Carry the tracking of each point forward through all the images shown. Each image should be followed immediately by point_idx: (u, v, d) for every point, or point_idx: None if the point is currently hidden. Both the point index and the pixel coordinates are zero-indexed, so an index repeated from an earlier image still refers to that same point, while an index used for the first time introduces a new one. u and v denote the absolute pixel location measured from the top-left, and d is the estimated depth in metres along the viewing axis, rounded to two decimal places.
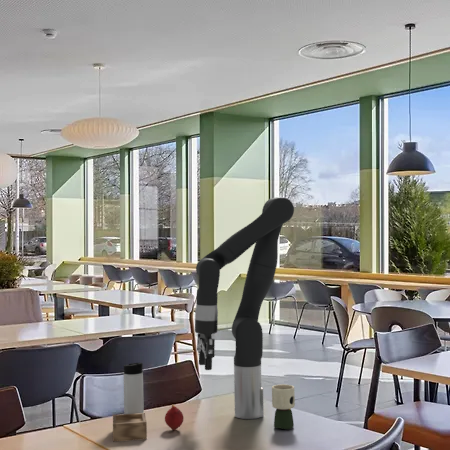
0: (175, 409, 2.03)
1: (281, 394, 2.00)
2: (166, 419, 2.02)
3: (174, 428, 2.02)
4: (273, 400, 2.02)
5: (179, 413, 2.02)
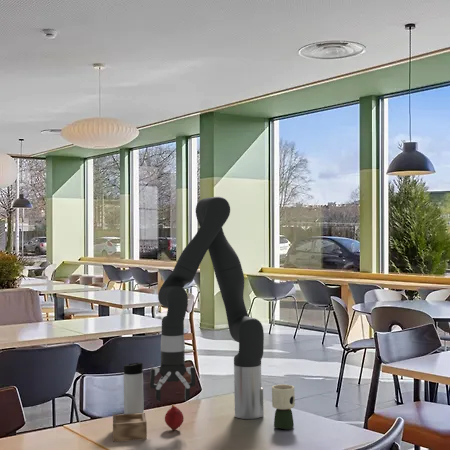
0: (175, 409, 2.03)
1: (281, 394, 2.00)
2: (166, 419, 2.02)
3: (174, 428, 2.02)
4: (273, 400, 2.02)
5: (179, 413, 2.02)
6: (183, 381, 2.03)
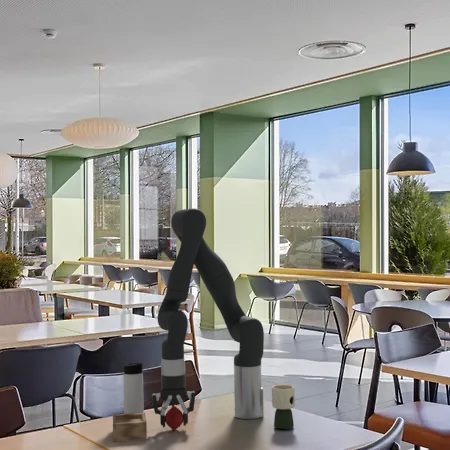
0: (175, 409, 2.03)
1: (281, 394, 2.00)
2: (166, 419, 2.02)
3: (174, 428, 2.02)
4: (273, 400, 2.02)
5: (179, 413, 2.02)
6: (182, 406, 2.03)
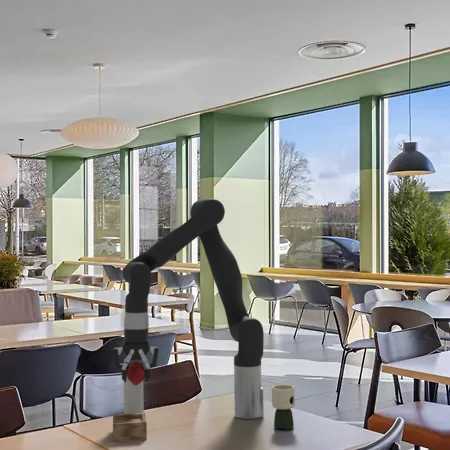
0: (137, 364, 1.99)
1: (281, 394, 2.00)
2: (128, 374, 1.98)
3: (135, 383, 1.99)
4: (273, 400, 2.02)
5: (141, 368, 1.99)
6: (144, 360, 1.99)
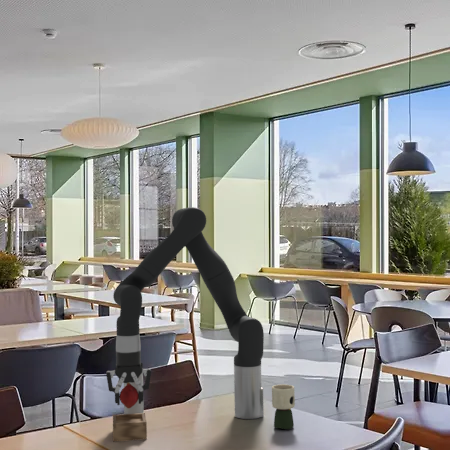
0: (130, 387, 1.98)
1: (281, 394, 2.00)
2: (120, 397, 1.98)
3: (129, 406, 1.98)
4: (273, 400, 2.02)
5: (134, 391, 1.98)
6: (137, 383, 1.98)
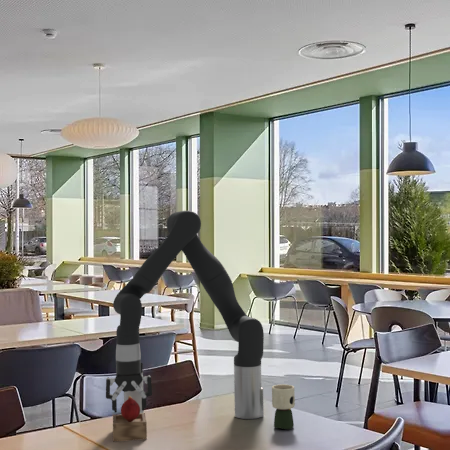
0: (131, 400, 1.98)
1: (281, 394, 2.00)
2: (122, 410, 1.98)
3: (130, 420, 1.98)
4: (273, 400, 2.02)
5: (135, 405, 1.98)
6: (139, 391, 1.98)
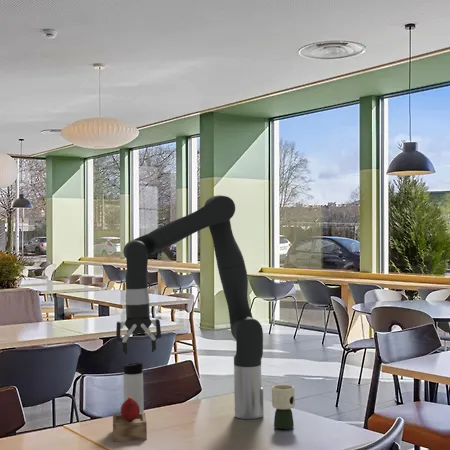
0: (131, 401, 1.98)
1: (281, 394, 2.00)
2: (121, 411, 1.98)
3: (130, 420, 1.98)
4: (273, 400, 2.02)
5: (135, 405, 1.98)
6: (149, 333, 2.07)
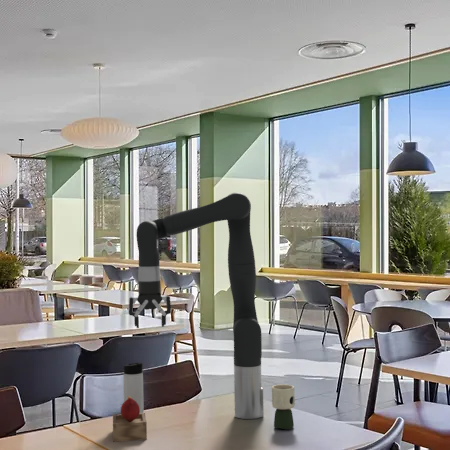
0: (131, 401, 1.98)
1: (281, 394, 2.00)
2: (121, 411, 1.98)
3: (130, 420, 1.98)
4: (273, 400, 2.02)
5: (135, 405, 1.98)
6: (159, 309, 2.20)
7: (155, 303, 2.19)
